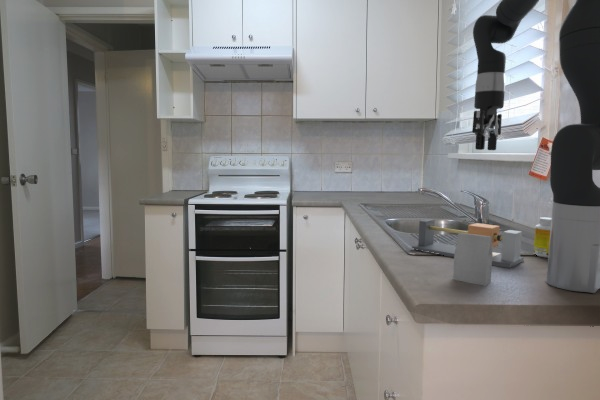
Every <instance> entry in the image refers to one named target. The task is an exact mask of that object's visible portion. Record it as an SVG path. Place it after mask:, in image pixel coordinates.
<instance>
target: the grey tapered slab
mask: <svg viewBox="0 0 600 400" xmlns="http://www.w3.org/2000/svg"><path fill="white" fill-rule="evenodd" d="M455 246H456V248H455V254H454V258H453V271H452V272H453V273H452V275H453V276H452V280H454V281H458V282H463V283H469V284H474V285H480V286H484V287H486V286H488V285H489V284H490V283H491V280H492V268H493V267H492V266H493V265H492V255H493V254H492V252H493V248H492V237H490V236H482V235H474V234H466V233H458V234H457V238H456V245H455Z"/></svg>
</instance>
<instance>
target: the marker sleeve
mask: <svg viewBox="0 0 600 400" xmlns="http://www.w3.org/2000/svg"><path fill="white" fill-rule="evenodd" d="M500 227H501V226H500V225H494V224H488V223H487V224H486V223H479V222H476V223H472V224H468V226H467V231H468V234H474V235H482V236H490V237H492V249H494V248H496V247H499V245H500V244H499V242H500V241H497V239H494V235H497V236H498V235H500V231H501V229H500Z"/></svg>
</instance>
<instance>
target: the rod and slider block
mask: <svg viewBox="0 0 600 400" xmlns="http://www.w3.org/2000/svg"><path fill="white" fill-rule="evenodd" d="M435 223H436V222H435V219H432V218H431V219H430V218H426V219H422V220H419V223H418V224H419V225H418V226H419V227H418V241H417V242H418V244H415V245H412V246H411V249H412V248H414V249H418V250H423V251H429V252H434V253H439V254H442V255H441V256H443V255H444V257H448V258H453V259H454V254H455V248H456V245H455V244H454V245H453V244H448V243H441V242H436V241H434V240H435V239H434V235H435V234H434V233H435V231H437V232H444V233H451V234H456V235H458V233H466V234H468V230H463V229H462V230H460V229H452V228H447V227H440V226H435ZM522 236H523V231H521V230H512V229H508V230H504V231H503V232H502V234H499V235H498V236H497V235H494V239H497V241H499V242H502V244H501V252H493V251H492V254H493V255H492V266H496V267H502V268H506V269H510V268H512V267H515V266H517V265H519V264H520V263H522V262H524V259H525V256H524V257H523V256H521V252H522V251H521V250H522V238H523V237H522Z"/></svg>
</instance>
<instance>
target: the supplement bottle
mask: <svg viewBox="0 0 600 400" xmlns="http://www.w3.org/2000/svg"><path fill="white" fill-rule="evenodd" d="M551 219H552V217H544V216H543V217H539V221H538V224H536V225H535V228H534V229H535V230H534V240H533V252H532V253H533V254H536V255H537V256H536V255H535V256H536V257H540V258H545V259H546V258H547V259H548V255H549V243H550V231H551Z"/></svg>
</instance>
